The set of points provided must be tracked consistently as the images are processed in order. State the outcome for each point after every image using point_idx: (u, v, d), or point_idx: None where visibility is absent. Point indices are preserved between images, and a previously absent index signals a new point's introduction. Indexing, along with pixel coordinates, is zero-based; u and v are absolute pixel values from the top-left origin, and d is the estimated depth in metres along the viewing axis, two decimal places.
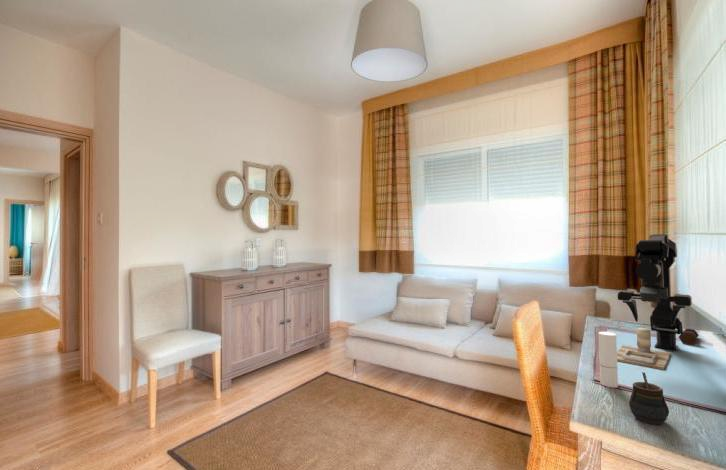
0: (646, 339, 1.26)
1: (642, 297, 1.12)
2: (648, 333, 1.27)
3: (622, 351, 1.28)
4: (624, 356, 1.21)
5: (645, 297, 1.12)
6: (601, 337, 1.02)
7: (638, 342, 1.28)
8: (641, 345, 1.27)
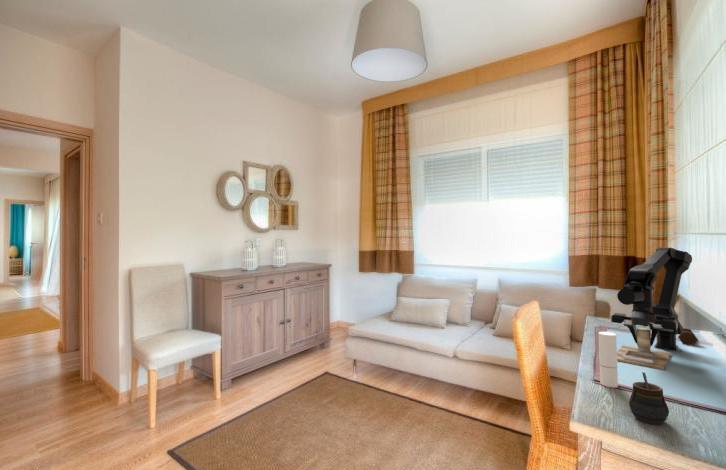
0: (646, 339, 1.26)
1: (633, 321, 1.24)
2: (648, 333, 1.27)
3: (622, 351, 1.28)
4: (624, 356, 1.21)
5: (635, 321, 1.24)
6: (601, 337, 1.02)
7: (638, 342, 1.28)
8: (641, 345, 1.27)
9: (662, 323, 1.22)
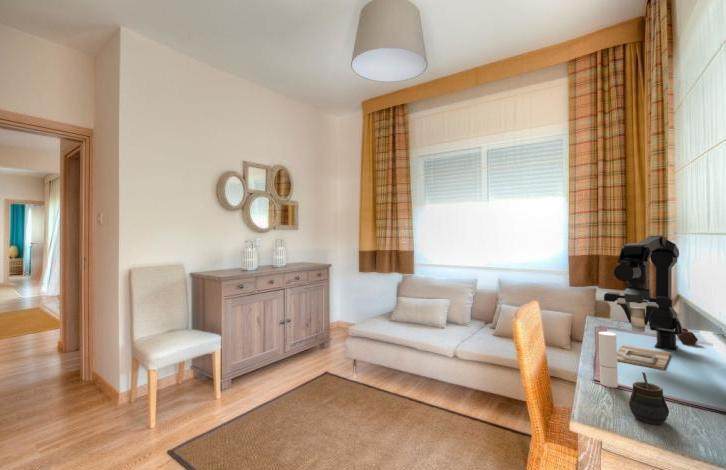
0: (640, 318, 1.20)
1: (626, 298, 1.18)
2: (642, 311, 1.20)
3: (622, 351, 1.28)
4: (624, 356, 1.21)
5: (629, 298, 1.17)
6: (601, 337, 1.02)
7: (632, 321, 1.22)
8: (635, 324, 1.21)
9: (657, 300, 1.16)
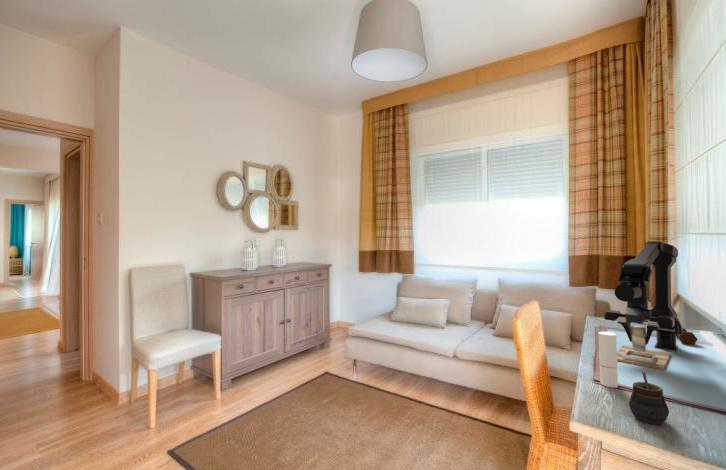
0: (641, 337, 1.19)
1: (627, 318, 1.17)
2: (643, 331, 1.19)
3: (622, 351, 1.28)
4: (624, 356, 1.21)
5: (630, 318, 1.17)
6: (601, 337, 1.02)
7: (633, 340, 1.21)
8: (636, 344, 1.20)
9: (658, 320, 1.15)
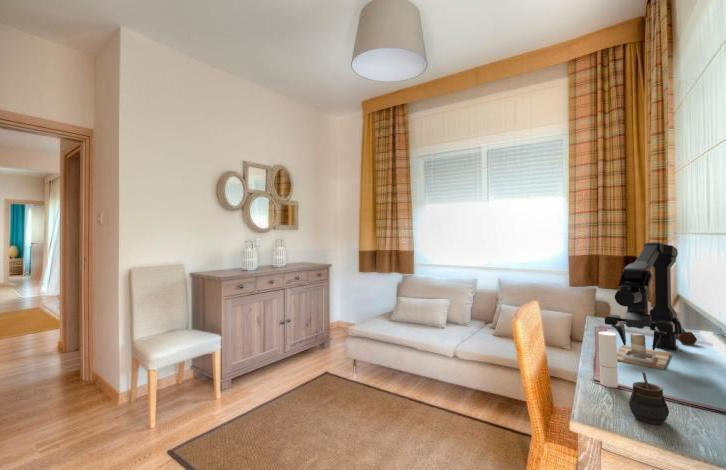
0: (641, 345, 1.19)
1: (627, 323, 1.17)
2: (642, 339, 1.20)
3: (622, 351, 1.28)
4: (624, 356, 1.21)
5: (630, 323, 1.17)
6: (601, 337, 1.02)
7: (632, 348, 1.21)
8: (636, 352, 1.20)
9: (658, 325, 1.15)
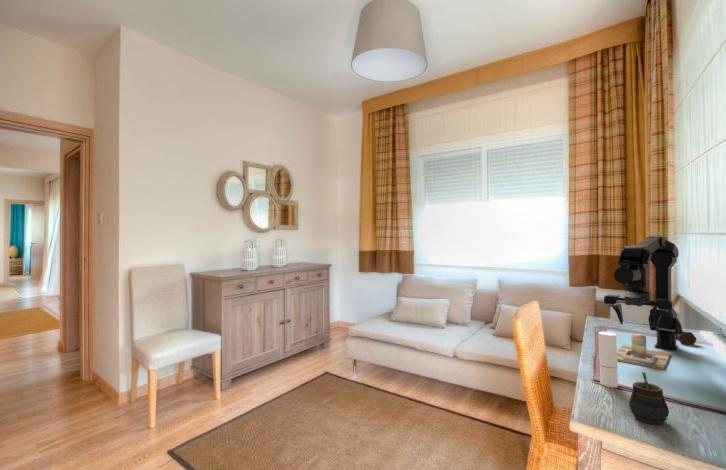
0: (641, 346, 1.19)
1: (626, 301, 1.17)
2: (643, 339, 1.19)
3: (622, 351, 1.28)
4: (624, 356, 1.21)
5: (629, 301, 1.17)
6: (601, 337, 1.02)
7: (633, 349, 1.21)
8: (636, 352, 1.20)
9: (657, 303, 1.15)
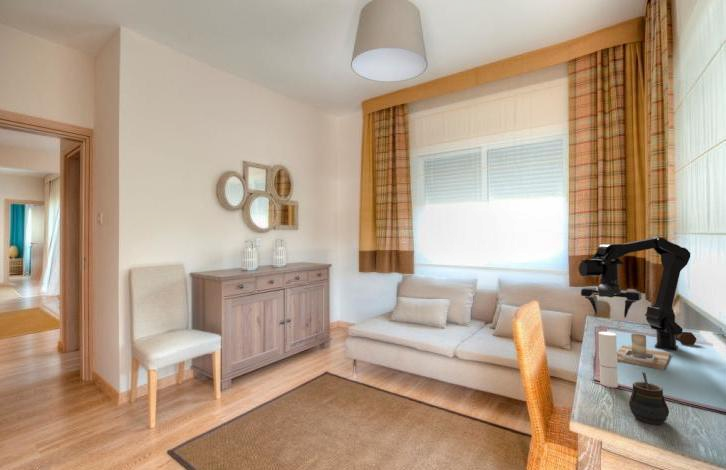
0: (641, 346, 1.19)
1: (599, 293, 1.32)
2: (643, 339, 1.19)
3: (622, 351, 1.28)
4: (624, 356, 1.21)
5: (602, 293, 1.31)
6: (601, 337, 1.02)
7: (633, 349, 1.21)
8: (636, 352, 1.20)
9: (626, 294, 1.30)
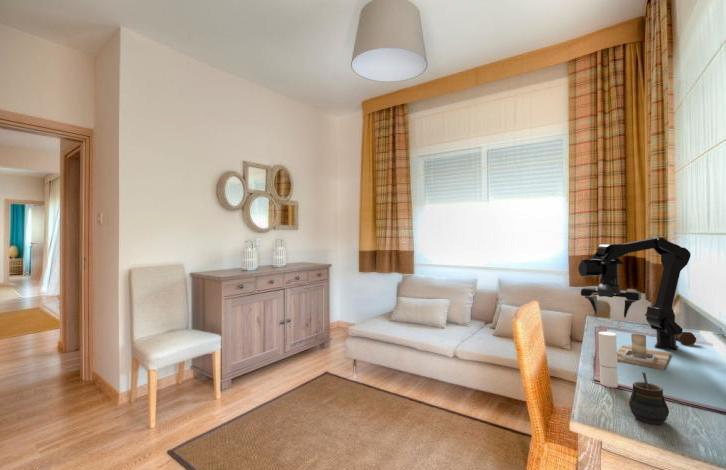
0: (641, 346, 1.19)
1: (599, 293, 1.32)
2: (643, 339, 1.19)
3: (622, 351, 1.28)
4: (624, 356, 1.21)
5: (601, 293, 1.31)
6: (601, 337, 1.02)
7: (633, 349, 1.21)
8: (636, 352, 1.20)
9: (626, 294, 1.30)
